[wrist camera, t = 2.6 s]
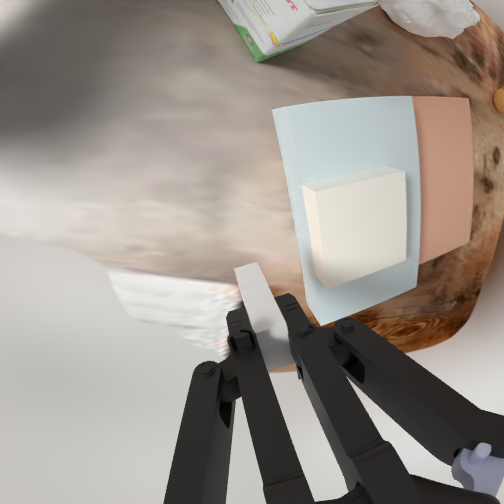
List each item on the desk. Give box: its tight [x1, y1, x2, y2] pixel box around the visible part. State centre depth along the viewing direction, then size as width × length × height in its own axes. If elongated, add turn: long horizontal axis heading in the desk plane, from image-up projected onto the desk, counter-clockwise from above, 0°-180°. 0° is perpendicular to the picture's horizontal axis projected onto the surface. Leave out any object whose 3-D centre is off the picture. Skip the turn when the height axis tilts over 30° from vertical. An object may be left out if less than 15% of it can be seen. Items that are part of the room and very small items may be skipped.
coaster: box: [302, 166, 407, 289], centre depth 22 cm, size 8×8×2 cm
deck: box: [272, 96, 421, 326], centre depth 25 cm, size 20×12×4 cm, turn 13°
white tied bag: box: [378, 0, 480, 39], centre depth 15 cm, size 12×8×11 cm
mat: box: [412, 96, 474, 265], centre depth 28 cm, size 20×14×1 cm
